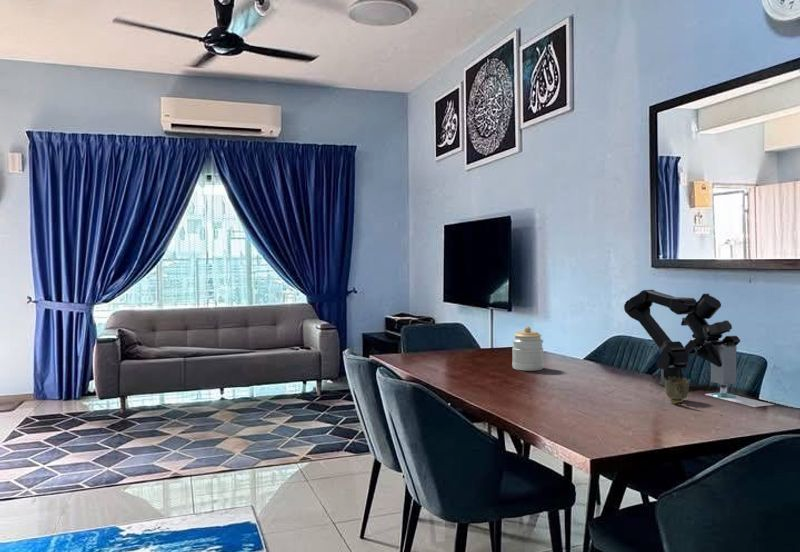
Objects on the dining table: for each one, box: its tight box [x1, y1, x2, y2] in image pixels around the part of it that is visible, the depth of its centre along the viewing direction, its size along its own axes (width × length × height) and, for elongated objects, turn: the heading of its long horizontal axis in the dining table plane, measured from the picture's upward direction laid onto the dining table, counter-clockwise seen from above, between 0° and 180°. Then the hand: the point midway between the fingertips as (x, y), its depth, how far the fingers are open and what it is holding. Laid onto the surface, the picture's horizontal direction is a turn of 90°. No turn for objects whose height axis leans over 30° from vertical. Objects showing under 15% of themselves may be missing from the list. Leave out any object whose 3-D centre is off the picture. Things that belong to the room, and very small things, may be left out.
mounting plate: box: [704, 392, 775, 408], centre depth 194 cm, size 19×8×1 cm, turn 19°
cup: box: [664, 376, 691, 406], centre depth 193 cm, size 8×7×8 cm
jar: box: [511, 326, 544, 372], centre depth 259 cm, size 13×13×18 cm
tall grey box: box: [710, 344, 738, 386], centre depth 199 cm, size 5×5×12 cm
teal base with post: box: [710, 384, 737, 399], centre depth 200 cm, size 7×7×4 cm
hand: (726, 365), depth 198 cm, fingers closed on tall grey box, 5 cm apart
